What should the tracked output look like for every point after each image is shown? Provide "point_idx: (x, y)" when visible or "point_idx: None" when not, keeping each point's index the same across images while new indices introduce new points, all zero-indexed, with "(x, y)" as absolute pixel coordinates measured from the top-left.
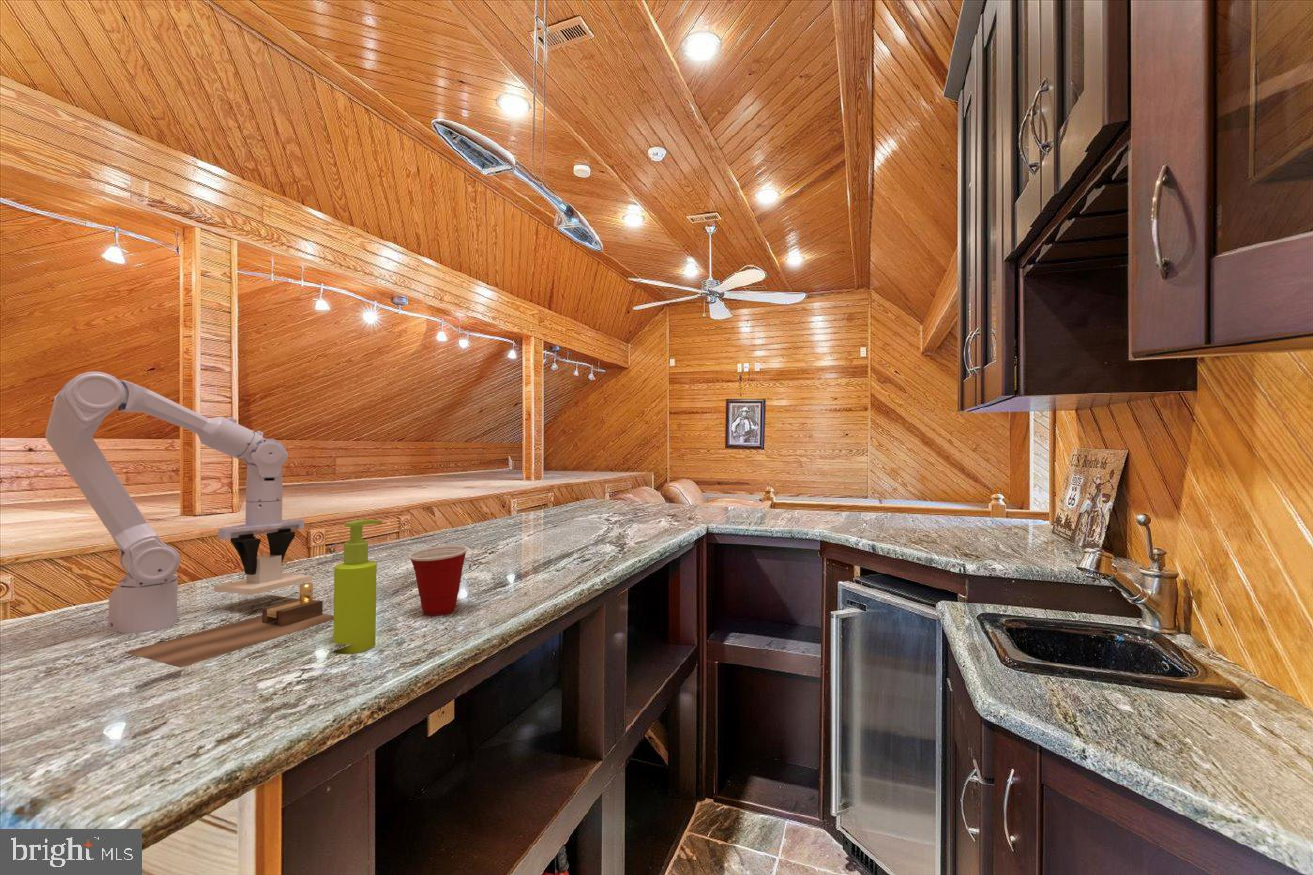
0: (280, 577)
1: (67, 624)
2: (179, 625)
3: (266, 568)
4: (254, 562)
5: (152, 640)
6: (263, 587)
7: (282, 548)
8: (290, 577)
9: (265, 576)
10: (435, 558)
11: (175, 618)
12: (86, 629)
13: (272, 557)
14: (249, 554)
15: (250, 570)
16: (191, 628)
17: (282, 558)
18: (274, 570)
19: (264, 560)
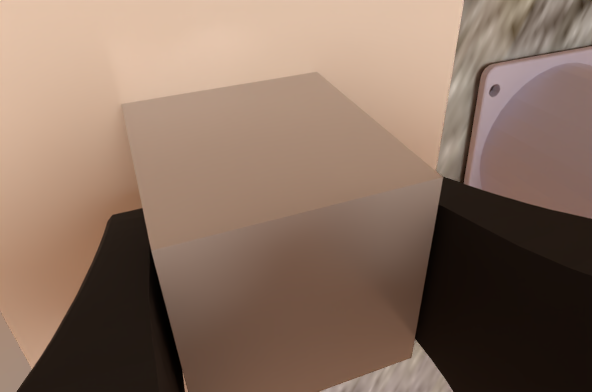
0: (137, 106)
1: None
2: (445, 174)
3: (312, 130)
4: (444, 191)
5: (577, 47)
6: None
7: (132, 359)
8: (37, 85)
9: (291, 98)
10: None
11: (541, 112)
12: None
13: (282, 215)
14: (586, 220)
15: None
16: (458, 93)
17: (103, 272)
18: (213, 135)
19: (375, 177)
